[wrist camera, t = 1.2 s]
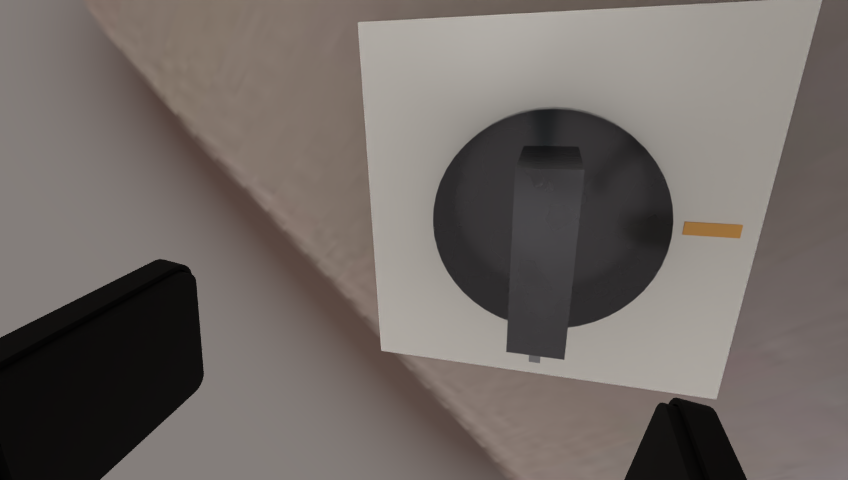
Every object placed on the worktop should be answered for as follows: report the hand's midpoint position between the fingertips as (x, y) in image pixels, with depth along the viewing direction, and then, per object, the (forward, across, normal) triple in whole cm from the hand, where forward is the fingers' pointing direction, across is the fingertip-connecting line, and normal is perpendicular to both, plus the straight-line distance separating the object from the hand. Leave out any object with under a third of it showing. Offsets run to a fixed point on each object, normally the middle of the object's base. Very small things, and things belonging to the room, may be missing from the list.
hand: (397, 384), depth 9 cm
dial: (+21, -3, +3) cm, 22 cm away
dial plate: (+24, -3, +3) cm, 24 cm away
